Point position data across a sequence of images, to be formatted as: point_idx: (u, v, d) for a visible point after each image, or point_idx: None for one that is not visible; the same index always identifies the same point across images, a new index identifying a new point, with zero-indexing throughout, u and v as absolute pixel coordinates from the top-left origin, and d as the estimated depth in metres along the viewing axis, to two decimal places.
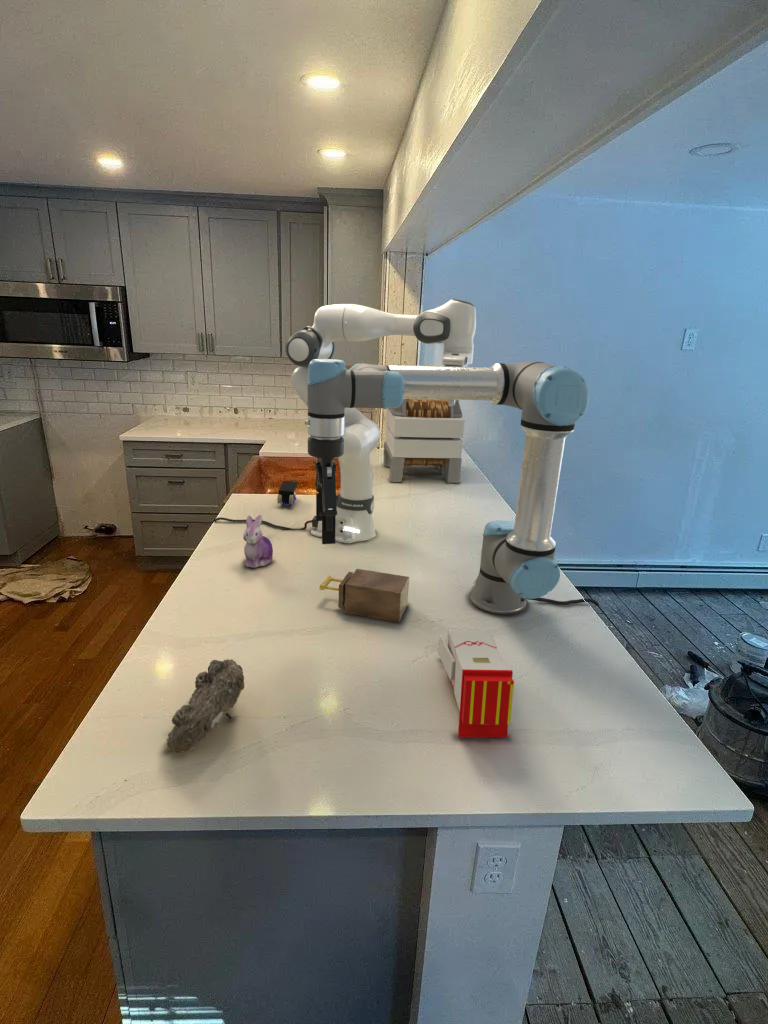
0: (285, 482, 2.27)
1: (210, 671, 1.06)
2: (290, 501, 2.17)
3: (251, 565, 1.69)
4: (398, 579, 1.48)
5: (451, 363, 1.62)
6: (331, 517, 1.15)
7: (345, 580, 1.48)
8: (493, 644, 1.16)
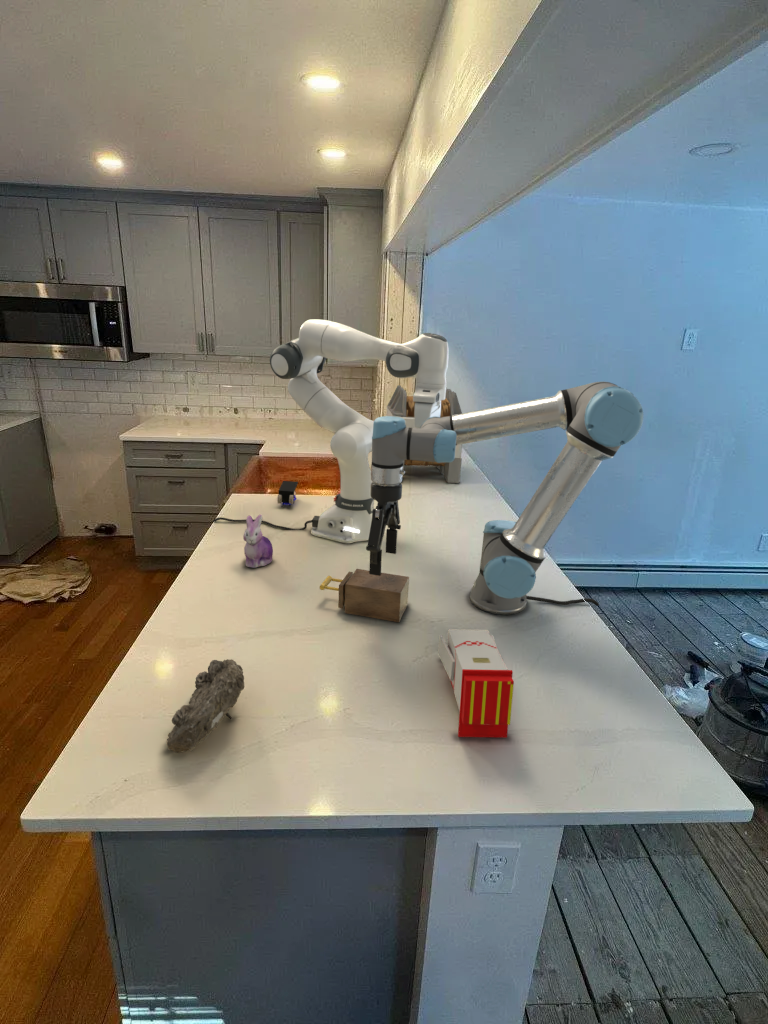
0: (285, 482, 2.27)
1: (210, 671, 1.06)
2: (290, 501, 2.17)
3: (251, 565, 1.69)
4: (398, 579, 1.48)
5: (422, 400, 1.56)
6: None
7: (345, 580, 1.48)
8: (493, 644, 1.16)
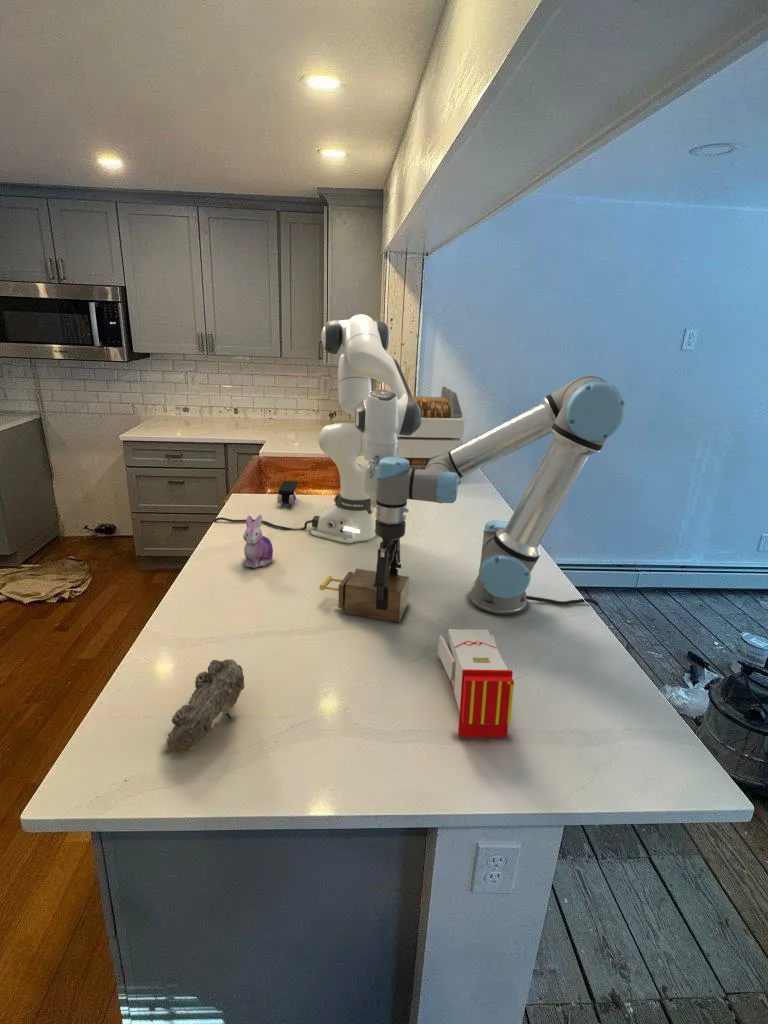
0: (285, 482, 2.27)
1: (210, 671, 1.06)
2: (290, 501, 2.17)
3: (251, 565, 1.69)
4: (398, 579, 1.48)
5: None
6: None
7: (345, 580, 1.48)
8: (493, 644, 1.16)
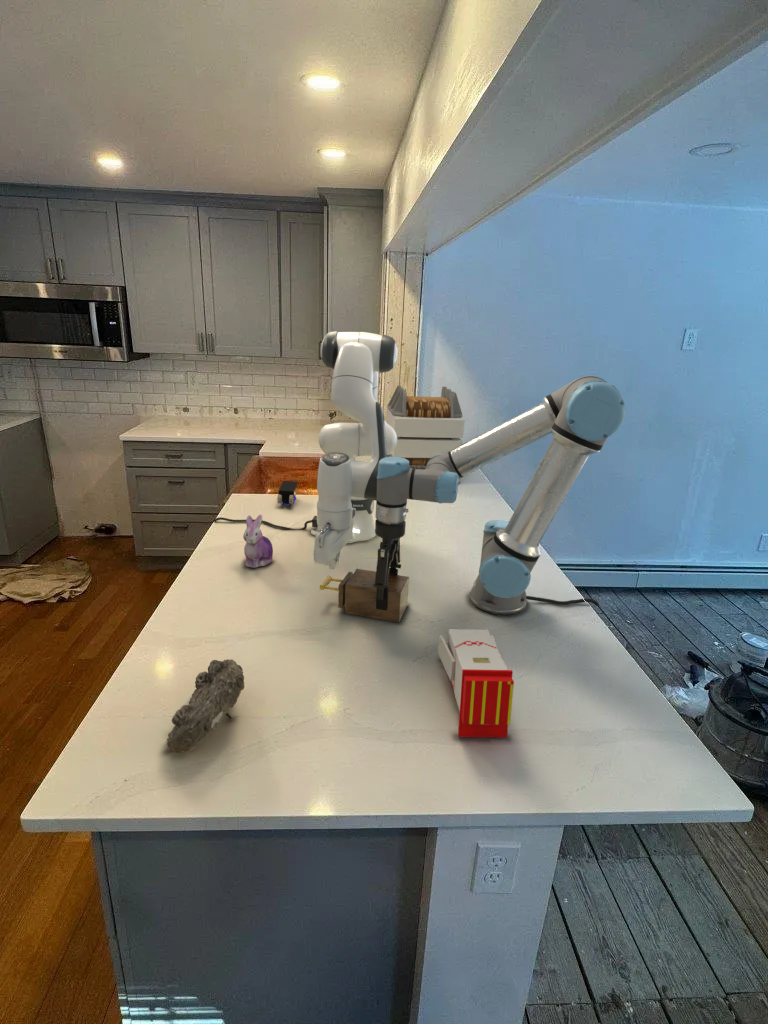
0: (285, 482, 2.27)
1: (210, 671, 1.06)
2: (290, 501, 2.17)
3: (251, 565, 1.69)
4: (398, 579, 1.48)
5: None
6: None
7: (345, 580, 1.48)
8: (493, 644, 1.16)
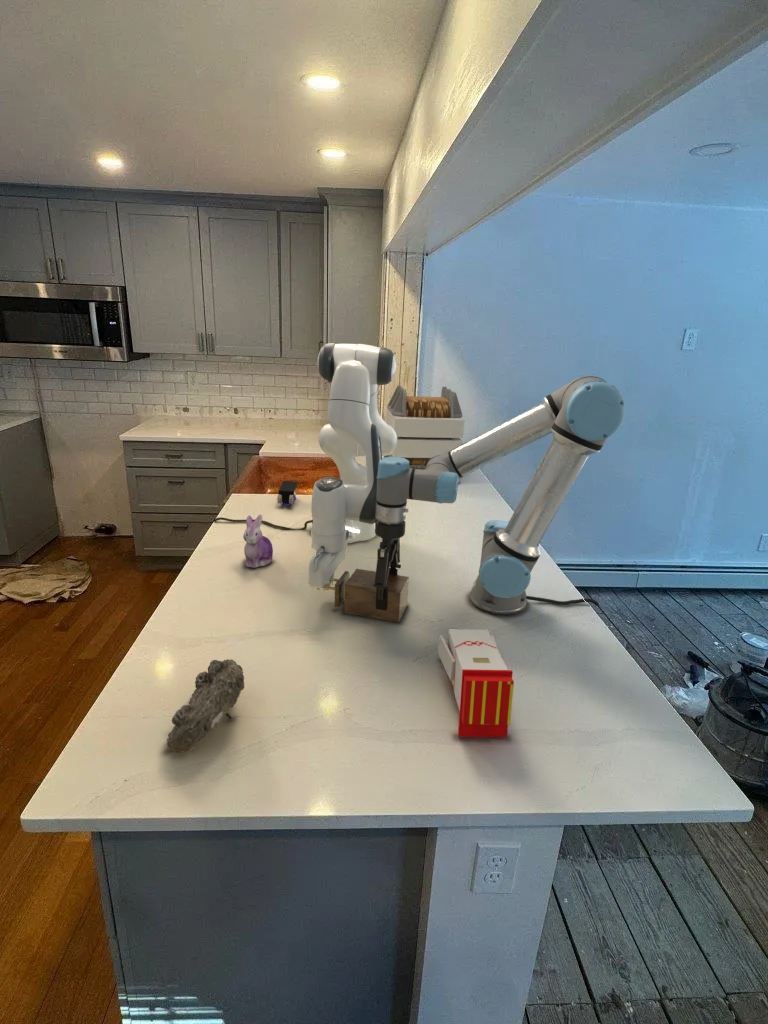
0: (285, 482, 2.27)
1: (210, 671, 1.06)
2: (290, 501, 2.17)
3: (251, 565, 1.69)
4: (398, 579, 1.48)
5: None
6: None
7: (341, 579, 1.48)
8: (493, 644, 1.16)
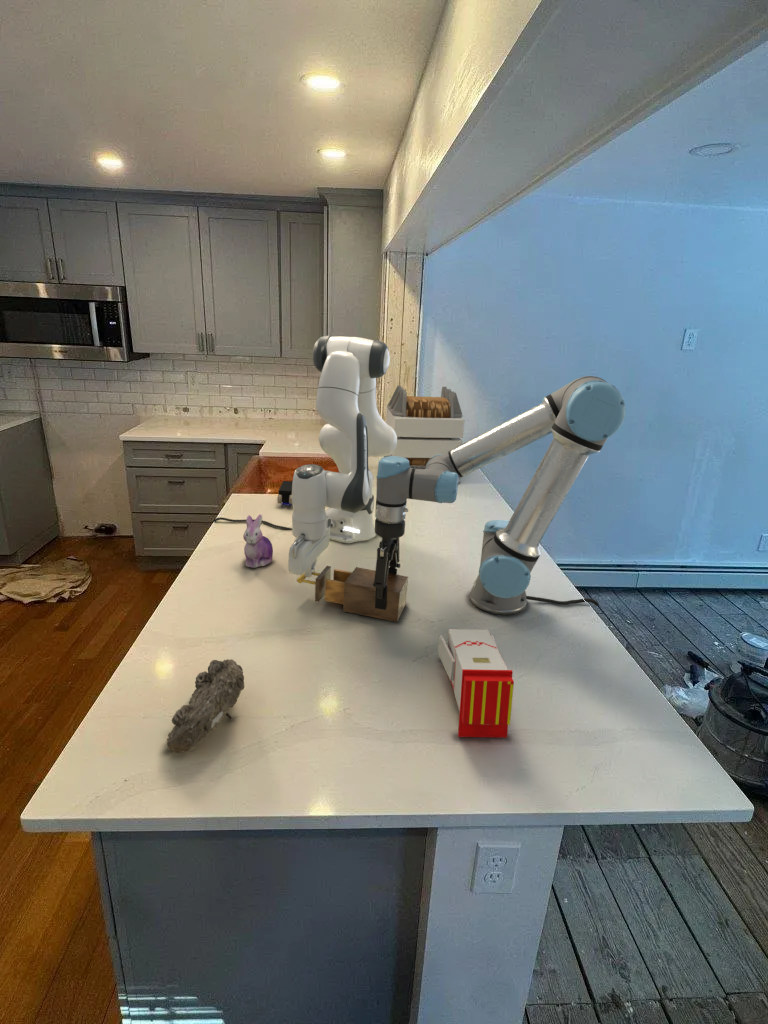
0: (285, 482, 2.27)
1: (210, 671, 1.06)
2: (290, 501, 2.17)
3: (251, 565, 1.69)
4: (397, 579, 1.48)
5: None
6: None
7: (322, 574, 1.49)
8: (493, 644, 1.16)
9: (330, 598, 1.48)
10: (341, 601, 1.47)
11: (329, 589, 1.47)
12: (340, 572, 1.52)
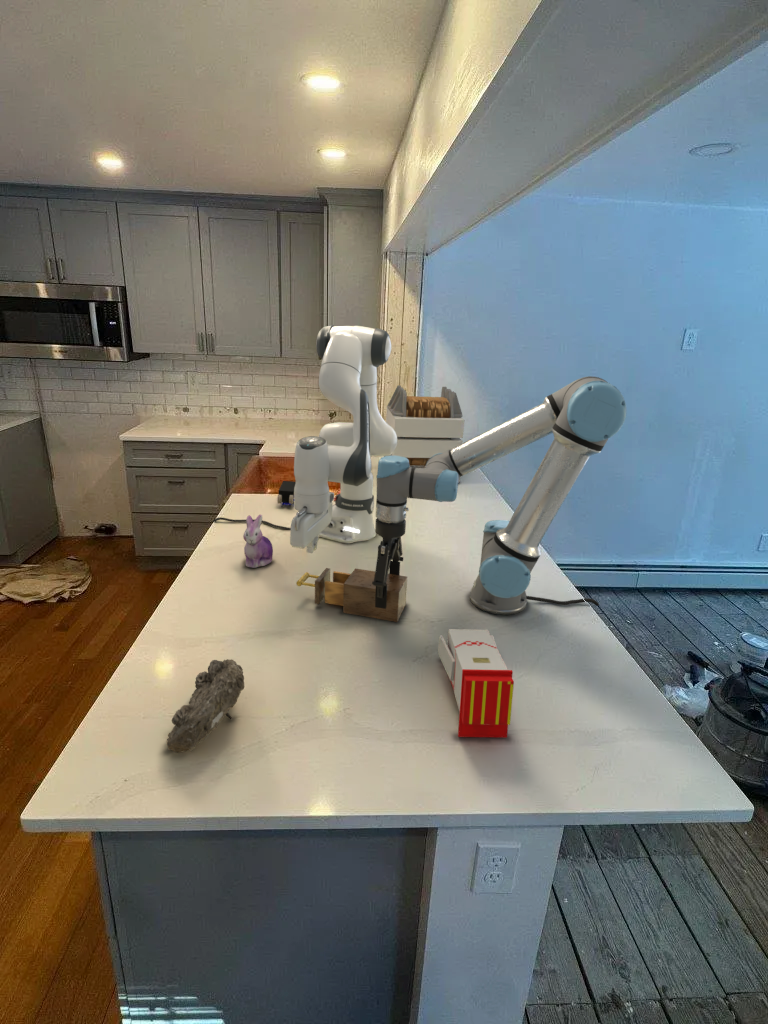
0: (285, 482, 2.27)
1: (210, 671, 1.06)
2: (290, 501, 2.17)
3: (251, 565, 1.69)
4: (396, 579, 1.48)
5: None
6: None
7: (321, 576, 1.49)
8: (493, 644, 1.16)
9: (330, 600, 1.48)
10: (341, 602, 1.48)
11: (329, 591, 1.48)
12: (339, 574, 1.52)
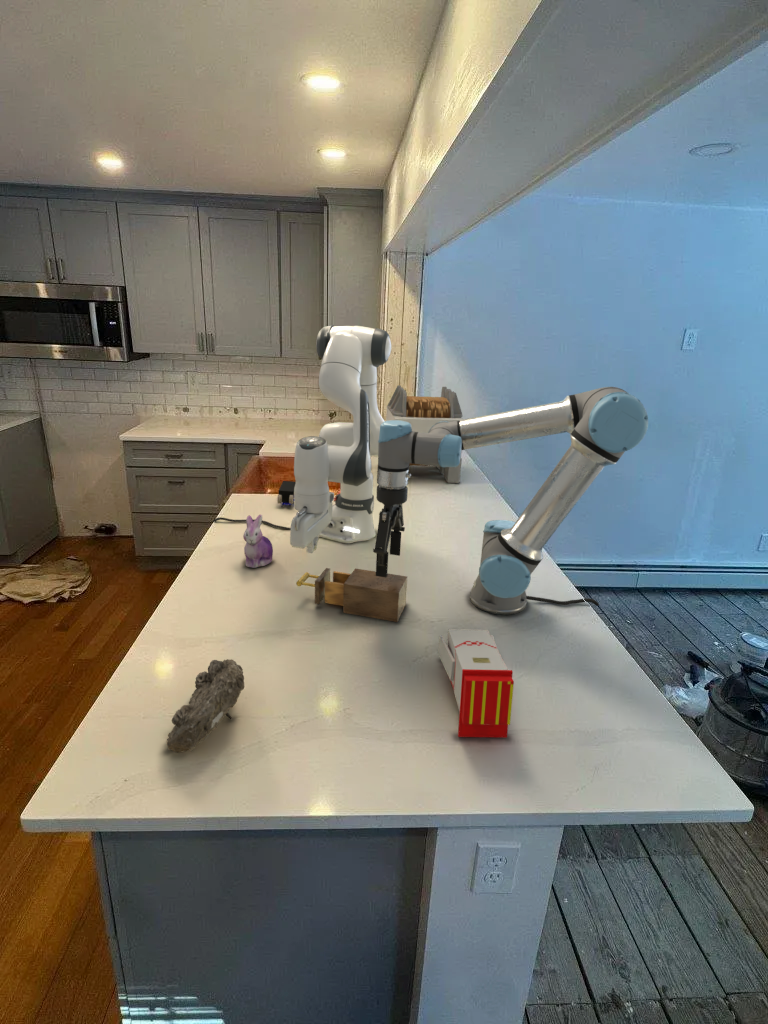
0: (285, 482, 2.27)
1: (210, 671, 1.06)
2: (290, 501, 2.17)
3: (251, 565, 1.69)
4: (396, 579, 1.48)
5: None
6: None
7: (321, 576, 1.49)
8: (493, 644, 1.16)
9: (330, 600, 1.48)
10: (341, 602, 1.48)
11: (329, 591, 1.48)
12: (339, 574, 1.52)
